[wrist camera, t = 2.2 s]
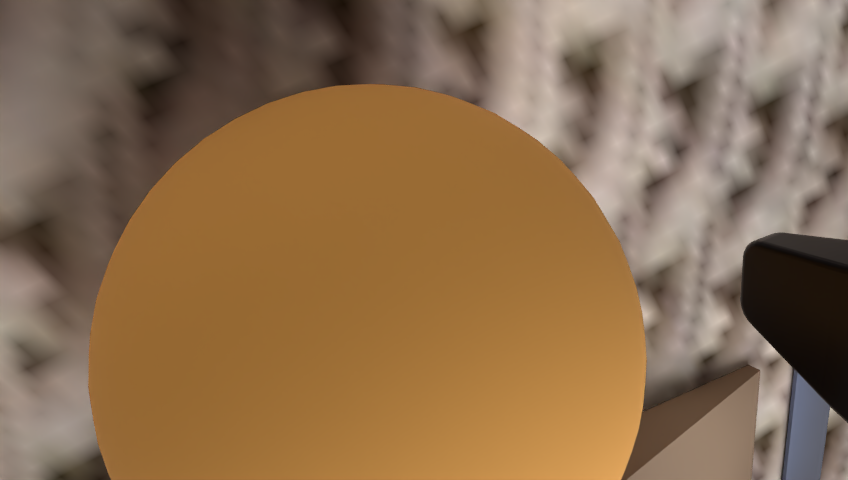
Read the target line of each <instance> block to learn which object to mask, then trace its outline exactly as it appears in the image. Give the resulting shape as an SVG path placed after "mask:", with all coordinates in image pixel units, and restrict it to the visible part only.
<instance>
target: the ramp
mask: <svg viewBox="0 0 848 480" xmlns="http://www.w3.org/2000/svg"><path fill="white" fill-rule="evenodd" d="M759 379H760V370H758V369H756V368H754V367H752V366H750V365H747V366H745V367H743V368H741V369H738V370H736V371H734V372H732V373H729V374H727V375H725V376H723V377H720V378H718V379H716V380H714V381H711V382H709V383H707V384H705V385H702V386H700V387H698V388H696V389H693V390H691V391H689V392H687V393H684V394H682V395H680V396H678V397H675V398H673V399H671V400H669V401H666V402H664V403H662V404H660V405H657V406H655V407H653V408H651V409H648V410H646V411H644V412H642V414H641V420H640V425H639V430H638V433H637V437H636V440H635V443H634V446H633V450H632V453H631V455H630V458H629V461H628V464H627V466H626V469H625V471H624V474H623V476H622V479H621V480H751V476H752V464H753V452H754V440H755V428H756V415H757V403H758V391H759Z"/></svg>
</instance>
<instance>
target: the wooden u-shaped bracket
mask: <svg viewBox="0 0 848 480" xmlns="http://www.w3.org/2000/svg"><path fill="white" fill-rule="evenodd" d="M829 410H830V406H829V405H828V404H827V403H826V402H825V401H824V400H823V399H822V398H821V397H820V396H819V395H818V394H817V393H816V391H815V390H814V389H813V388H812V387H811V386H810V385H809V384H808V383H807V382H806V381H805V380H804V379H803V378H802V377H801V376H800V375H799V374H798V373H797V372H796V371H795V369H794V375H793V385H792V394H791V403H790V412H789V422H788V431H787V440H786V449H785V459H784V468H783V477H782V480H820V475H821V468H822V461H823V453H824V446H825V439H826V432H827V425H828V418H829Z"/></svg>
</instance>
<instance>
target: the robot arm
mask: <svg viewBox="0 0 848 480" xmlns="http://www.w3.org/2000/svg"><path fill="white" fill-rule="evenodd" d="M740 302H741V307H742V310H743V313H744V315H745V317H746V318H747V320H748V321H749V322H750V323H751V324H752V325H753V326H754V328H755V329H756V330H757V331H758V332H759V333H760V334H761V335H762V336H763V337H764V338H765V339H766V340H767V341H768V342H769V343H770V344H771V345H772V346H773V347H774V348H775V350H776V351H777V352H778V353H779V354H780V355H781V356H782V357H783V358H784V359H785V360H786V361H787V362H788V363H789V364H790V365H791V366H792V367H793V368H794V369H795V371H796V372H797V373H798V374H799V375H800V376H801V377H802V378H803V379H804V380H805V381H806V382H807V383H808V384H809V385H810V386H811V387H812V388H813V389H814V390H815V391H816V393H817V394H818V395H819V396H820V397H821V398H822V399H823V400H824V401H825V402H826V403H827V404H828V405H829V406H830V407H831V408H832V409H833V410H834V411H835V412H836V413H837V414H839V415H840V416H841V417H842V418H843V419H844V420H845V421H846V422H847V423H848V240H841V239H833V238H824V237H815V236H807V235H798V234H790V233H774V234H771V235H768V236H766V237H763V238H760V239H758V240H755V241H753V242H751V243H750V244H749V245H748V246H747V247H746V249H745V251H744V255H743V266H742V282H741V297H740Z"/></svg>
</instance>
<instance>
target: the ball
mask: <svg viewBox="0 0 848 480" xmlns="http://www.w3.org/2000/svg"><path fill="white" fill-rule="evenodd" d="M646 363H647V359H646V345H645V333H644V325H643V317H642V311H641V306H640V301H639V297H638V292H637V288H636V285H635V282H634V279H633V276H632V273H631V271H630V268H629V265H628V262H627V260H626V257H625V255H624V252H623V249H622V247H621V244H620V242H619V240H618V238H617V236H616V235H615V233H614V231H613V230H612V228H611V226H610V225H609V223H608V221H607V219H606V218H605V216H604V214H603V213H602V211H601V209H600V208H599V206H598V204H597V203H596V201H595V199H594V198H593V197H592V195H591V194H590V193H589V192H588V191H587V189H586V188H585V187H584V186H583V185H582V183H581V182H580V181H579V180H578V179H577V177H576V176H575V175H574V174H573V173H572V172H571V171H570V170H569V169H568V168H567V167H566V166H565V165H564V163H563V162H562V161H561V160H560V159H559V158H557V157H556V156H555V155H554V154H553V153H552V152H550V151H549V150H548V149H547V148H546V147H545V146H543V145H542V144H541V143H540V142H539V141H538V140H536V139H535V138H533V137H532V136H530V135H529V134H527V133H526V132H524V131H523V130H521V129H520V128H518V127H516V126H515V125H513V124H511V123H510V122H508V121H507V120H505V119H503V118H502V117H500V116H498V115H497V114H495V113H493V112H490V111H488V110H486V109H483V108H481V107H478V106H476V105H473V104H471V103H469V102H466V101H463V100H461V99H458V98H455V97H452V96H449V95H446V94H442V93H437V92H433V91H429V90H425V89H421V88H416V87H406V86H395V85H384V84H360V85H339V86H332V87H326V88H321V89H316V90H310V91H305V92H301V93H298V94H295V95H291V96H288V97H285V98H282V99H279V100H276V101H273V102H270V103H267V104H265V105H263V106H261V107H259V108H257V109H255V110H253V111H250V112H248V113H246V114H244V115H242V116H240V117H238V118H236V119H234V120H232V121H231V122H229V123H228V124H226V125H225V126H223V127H222V128H220V129H218V130H217V131H215V132H214V133H212V134H211V135H209V136H207V137H206V138H204V139H203V140H202V141H201V142H199V143H198V144H197V145H196V146H195V147H194V148H192V149H191V150H190V151H189V152H188V153H186V154H185V155H184V156H183V157H182V158H180V159H179V160H178V161H177V162H176V163H175V164H174V165H173V166H172V167H171V168H170V169H169V170H168V171H167V172H166V174H165V175H164V176H163V177H162V178H161V179H160V180H159V181H158V182H157V183H156V184H155V185H154V187H153V188H152V189H151V190H150V191H149V193H148V194H147V196H146V197H145V198H144V200H143V201H142V203H141V204H140V206H139V207H138V208H137V210H136V211H135V213H134V214H133V216H132V217H131V218H130V220H129V222H128V224H127V226H126V228H125V230H124V232H123V234H122V236H121V238H120V240H119V242H118V244H117V246H116V247H115V249H114V251H113V254H112V256H111V259H110V261H109V263H108V266H107V269H106V272H105V275H104V278H103V281H102V284H101V287H100V290H99V293H98V296H97V299H96V304H95V310H94V315H93V321H92V327H91V332H90V345H89V381H88V388H89V395H90V401H91V408H92V414H93V421H94V426H95V431H96V436H97V441H98V445H99V448H100V451H101V454H102V457H103V460H104V462H105V465H106V468H107V471H108V474H109V476H110V478H111V480H621V479H622V476H623V474H624V471H625V469H626V466H627V464H628V461H629V458H630V455H631V453H632V450H633V446H634V443H635V440H636V437H637V433H638V430H639V425H640V420H641V414H642V409H643V401H644V391H645V379H646Z"/></svg>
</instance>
